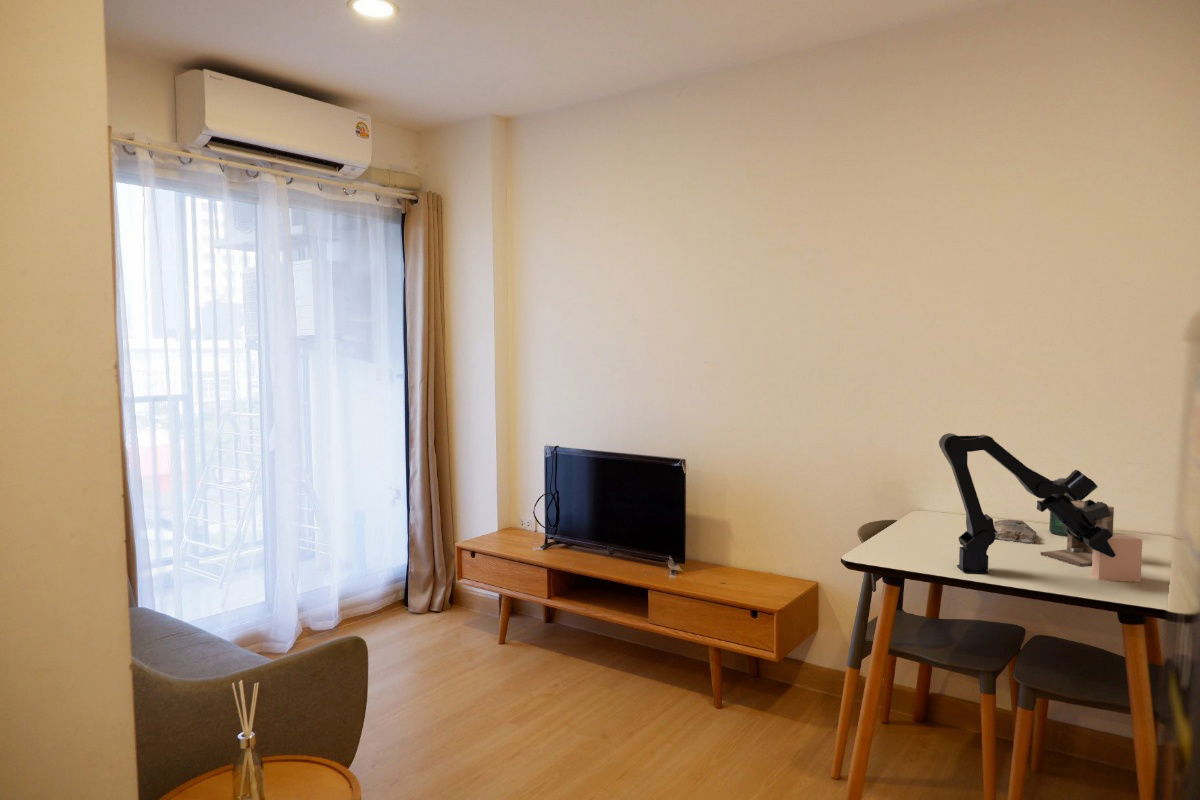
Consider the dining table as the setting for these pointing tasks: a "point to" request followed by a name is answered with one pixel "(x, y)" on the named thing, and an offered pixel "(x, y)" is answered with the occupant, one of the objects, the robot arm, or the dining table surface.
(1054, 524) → the coffee jar
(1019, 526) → the jagged gray stone
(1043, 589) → the dining table surface
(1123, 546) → the terracotta slab
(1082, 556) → the walnut shelf
